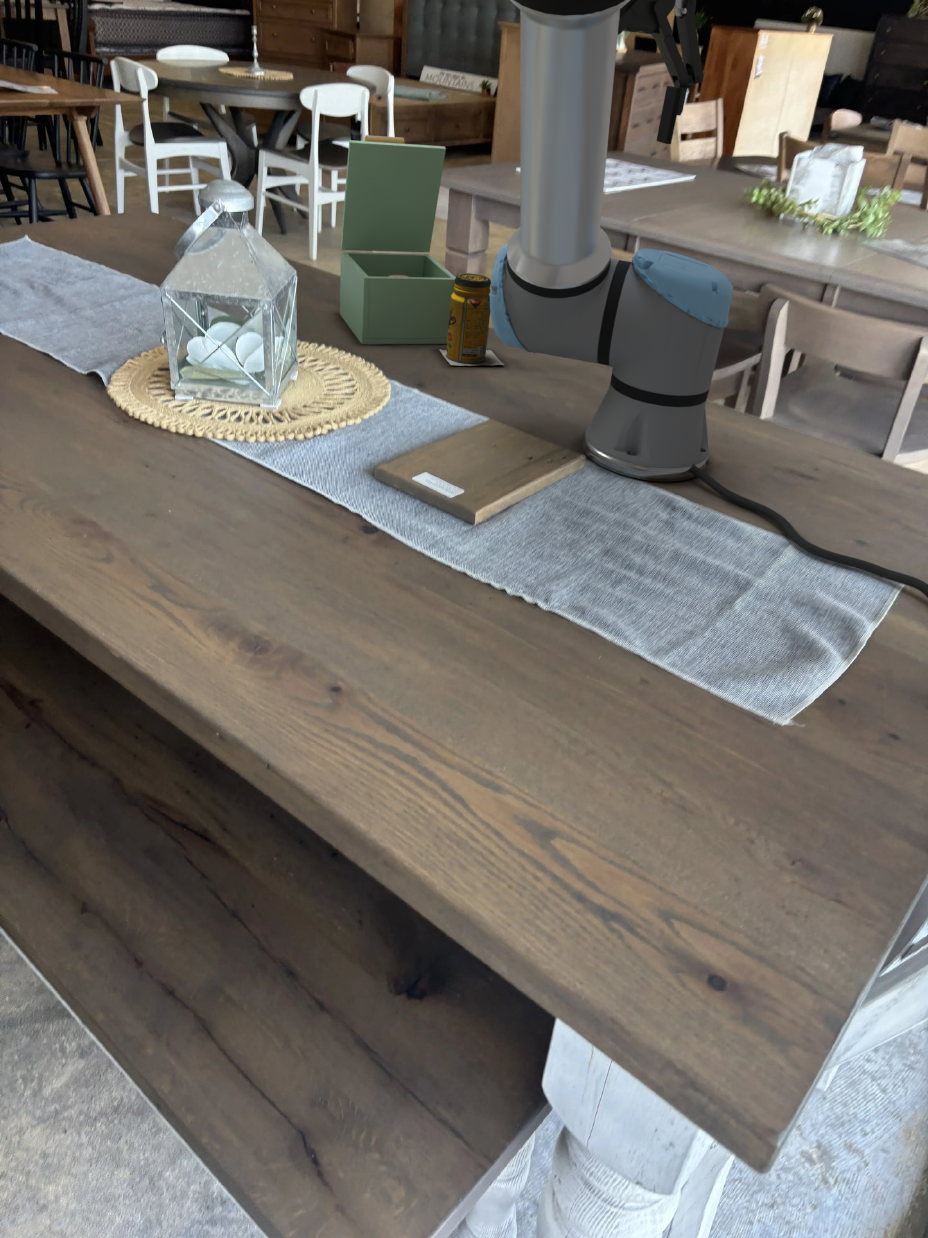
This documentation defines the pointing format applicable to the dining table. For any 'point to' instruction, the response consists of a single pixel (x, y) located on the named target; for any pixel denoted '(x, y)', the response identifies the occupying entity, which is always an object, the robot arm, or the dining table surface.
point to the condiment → (469, 322)
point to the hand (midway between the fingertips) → (618, 139)
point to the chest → (395, 298)
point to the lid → (390, 195)
